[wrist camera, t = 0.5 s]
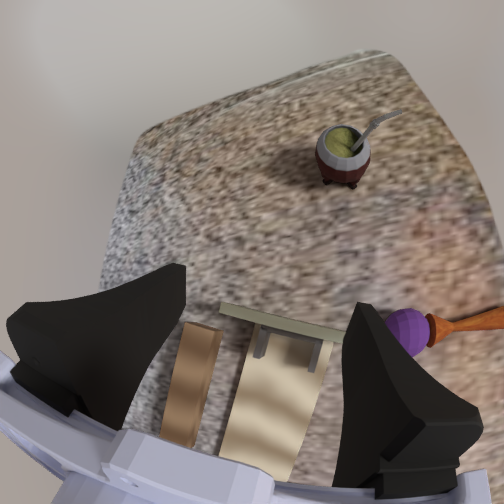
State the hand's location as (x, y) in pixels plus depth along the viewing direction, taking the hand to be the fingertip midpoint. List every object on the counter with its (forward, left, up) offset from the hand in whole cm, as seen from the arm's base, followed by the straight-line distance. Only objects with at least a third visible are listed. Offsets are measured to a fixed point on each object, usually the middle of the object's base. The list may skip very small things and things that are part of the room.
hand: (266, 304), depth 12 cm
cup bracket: (-12, 0, -26) cm, 29 cm away
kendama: (+2, -20, -27) cm, 33 cm away
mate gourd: (+20, -2, -26) cm, 33 cm away
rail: (-13, +11, -26) cm, 32 cm away
